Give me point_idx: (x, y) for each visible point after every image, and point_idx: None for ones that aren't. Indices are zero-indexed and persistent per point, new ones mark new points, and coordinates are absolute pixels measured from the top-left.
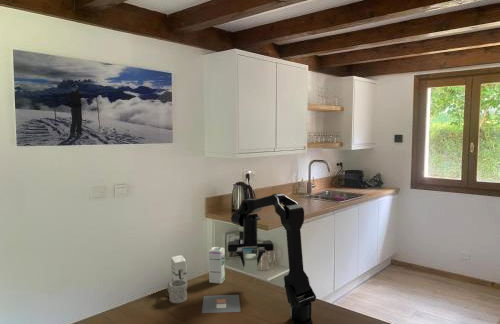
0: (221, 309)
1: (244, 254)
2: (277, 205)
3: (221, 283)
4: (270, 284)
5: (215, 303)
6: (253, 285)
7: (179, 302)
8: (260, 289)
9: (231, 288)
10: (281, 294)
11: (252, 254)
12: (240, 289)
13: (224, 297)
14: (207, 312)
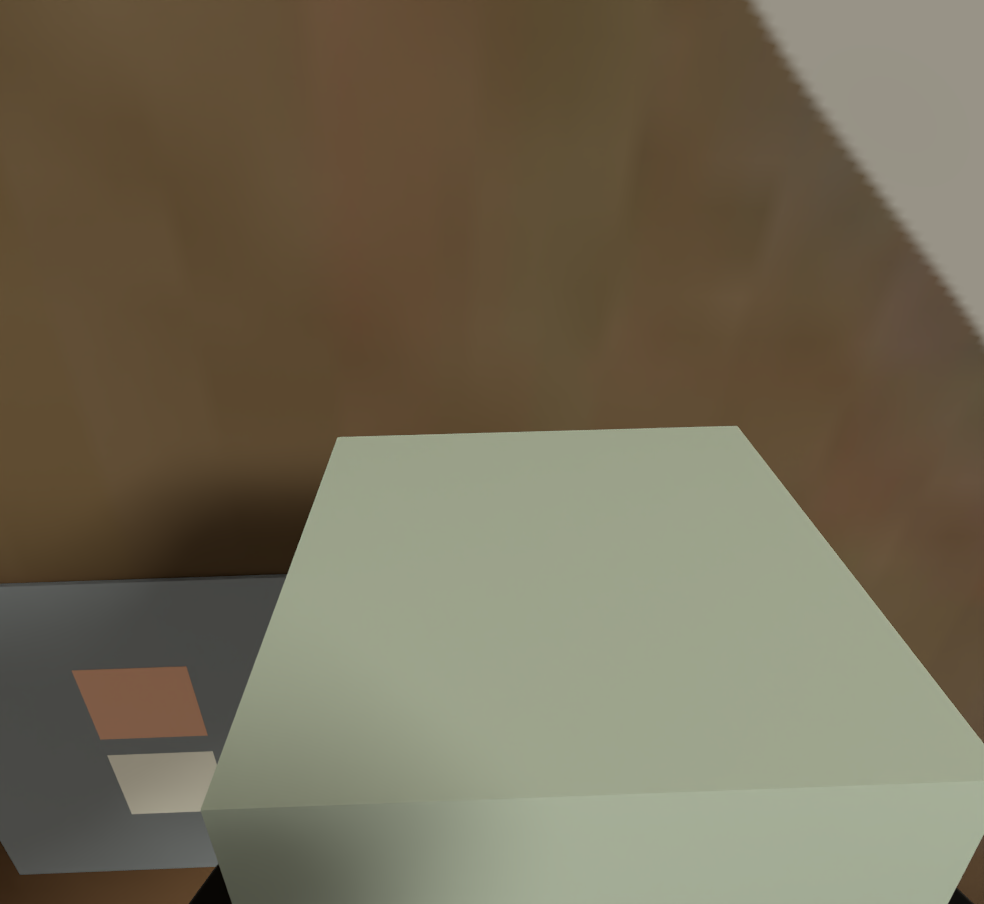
0: (192, 833)
1: (256, 858)
2: None
3: None
4: (884, 234)
5: (91, 745)
6: (571, 263)
7: None
8: (662, 421)
9: (193, 368)
10: (903, 570)
11: (766, 872)
12: (347, 409)
13: (157, 633)
14: (71, 867)
